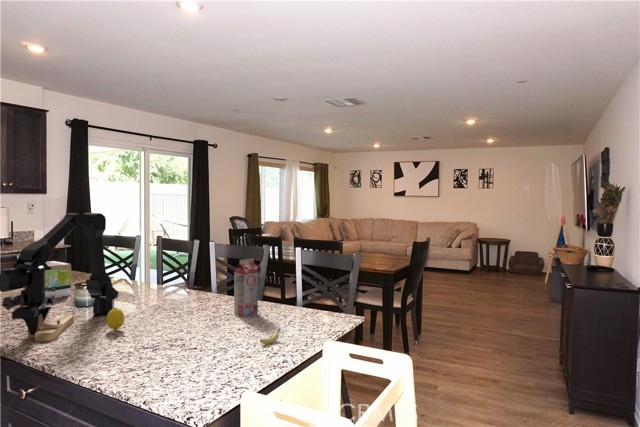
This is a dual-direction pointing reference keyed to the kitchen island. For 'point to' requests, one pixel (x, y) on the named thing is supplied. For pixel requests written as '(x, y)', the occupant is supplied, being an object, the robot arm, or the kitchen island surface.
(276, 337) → the banana
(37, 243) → the robot arm
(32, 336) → the chocolate colored brick
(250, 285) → the juice carton
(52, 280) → the tea box
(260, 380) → the kitchen island surface
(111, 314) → the lemon
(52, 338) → the plank
